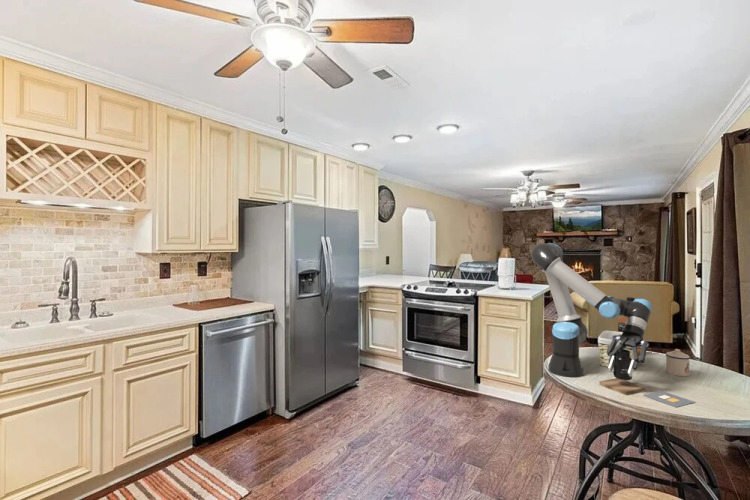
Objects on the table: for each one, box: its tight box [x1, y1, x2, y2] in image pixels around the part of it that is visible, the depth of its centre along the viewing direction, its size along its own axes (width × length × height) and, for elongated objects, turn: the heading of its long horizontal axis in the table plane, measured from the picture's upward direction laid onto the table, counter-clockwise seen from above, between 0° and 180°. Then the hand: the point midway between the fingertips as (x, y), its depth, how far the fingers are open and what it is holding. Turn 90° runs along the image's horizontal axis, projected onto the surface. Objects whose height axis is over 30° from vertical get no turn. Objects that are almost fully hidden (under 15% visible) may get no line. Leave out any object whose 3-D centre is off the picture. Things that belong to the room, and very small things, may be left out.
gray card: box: [643, 390, 696, 408], centre depth 150 cm, size 12×12×1 cm
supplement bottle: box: [613, 349, 633, 381], centre depth 161 cm, size 7×7×12 cm
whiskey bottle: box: [617, 296, 644, 357], centre depth 210 cm, size 10×10×32 cm
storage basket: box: [597, 330, 634, 369], centre depth 194 cm, size 24×16×15 cm
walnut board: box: [599, 377, 646, 396], centre depth 161 cm, size 12×12×2 cm
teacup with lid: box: [665, 348, 691, 377], centre depth 180 cm, size 12×9×12 cm
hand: (619, 372), depth 159 cm, fingers closed on supplement bottle, 7 cm apart
